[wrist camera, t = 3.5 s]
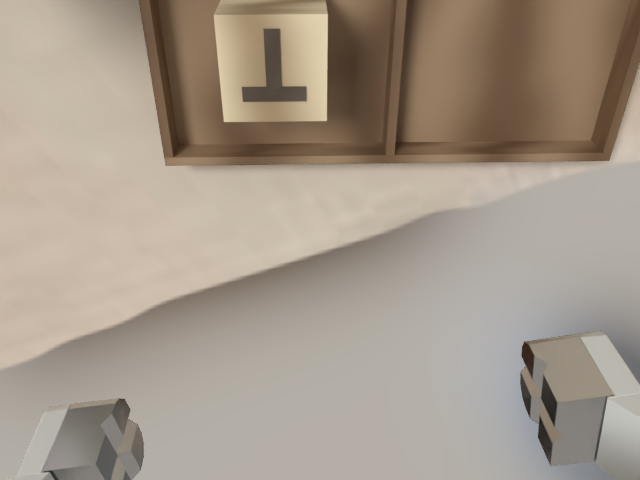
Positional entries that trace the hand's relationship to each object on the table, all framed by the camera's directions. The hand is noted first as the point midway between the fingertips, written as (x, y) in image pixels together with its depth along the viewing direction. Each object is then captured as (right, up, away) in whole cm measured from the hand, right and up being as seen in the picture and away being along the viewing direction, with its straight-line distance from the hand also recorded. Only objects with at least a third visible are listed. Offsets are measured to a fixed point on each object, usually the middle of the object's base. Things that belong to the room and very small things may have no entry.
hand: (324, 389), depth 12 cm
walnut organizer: (+4, +14, +20) cm, 25 cm away
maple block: (-2, +14, +19) cm, 24 cm away
